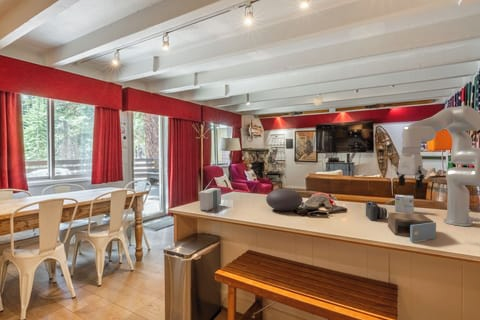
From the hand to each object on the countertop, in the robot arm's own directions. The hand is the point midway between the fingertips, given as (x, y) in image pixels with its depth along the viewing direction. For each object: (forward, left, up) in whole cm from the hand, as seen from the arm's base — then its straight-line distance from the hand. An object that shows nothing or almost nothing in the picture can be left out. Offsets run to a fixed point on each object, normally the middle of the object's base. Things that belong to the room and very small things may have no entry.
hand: (409, 186), depth 128 cm
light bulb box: (-13, -54, -24) cm, 61 cm away
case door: (-4, +8, -23) cm, 25 cm away
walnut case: (-2, -5, -24) cm, 24 cm away
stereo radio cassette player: (+118, -31, -24) cm, 124 cm away
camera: (+9, -30, -24) cm, 40 cm away
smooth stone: (+65, -37, -24) cm, 79 cm away
